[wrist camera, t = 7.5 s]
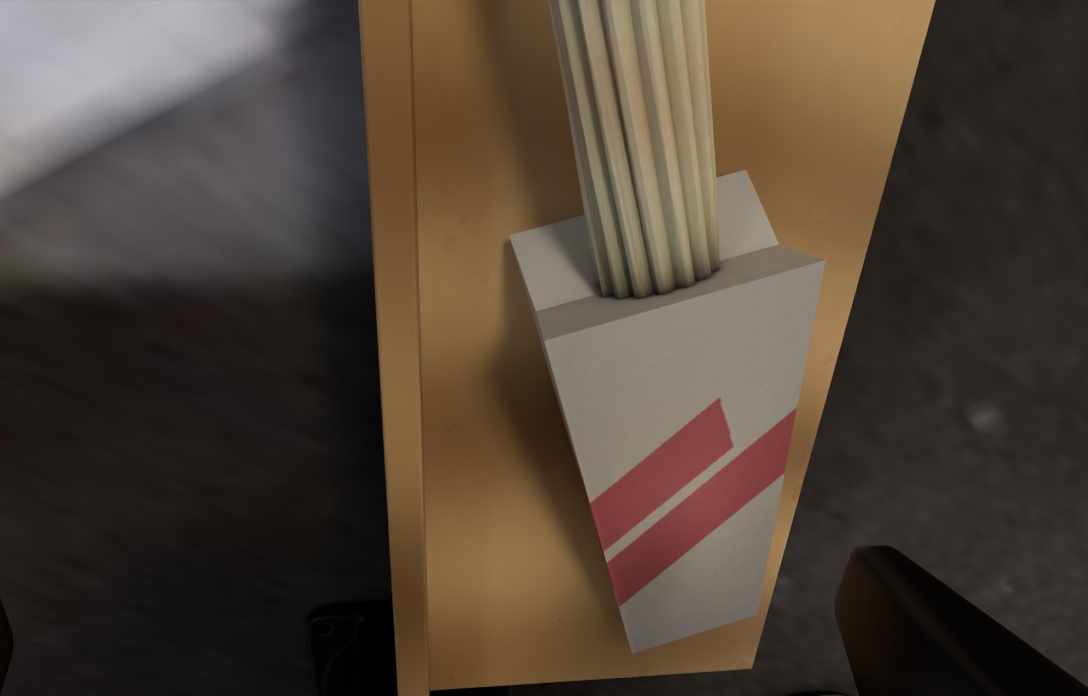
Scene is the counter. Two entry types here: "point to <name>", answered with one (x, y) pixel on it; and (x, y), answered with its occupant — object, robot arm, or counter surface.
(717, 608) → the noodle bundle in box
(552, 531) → the shelf
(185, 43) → the counter surface
